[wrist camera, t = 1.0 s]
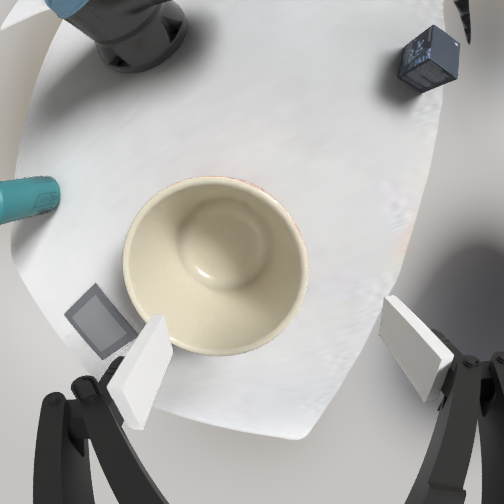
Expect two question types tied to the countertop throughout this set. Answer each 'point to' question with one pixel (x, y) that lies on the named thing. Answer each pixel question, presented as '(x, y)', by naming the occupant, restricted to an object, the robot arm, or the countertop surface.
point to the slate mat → (100, 323)
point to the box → (430, 60)
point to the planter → (216, 265)
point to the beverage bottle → (27, 197)
